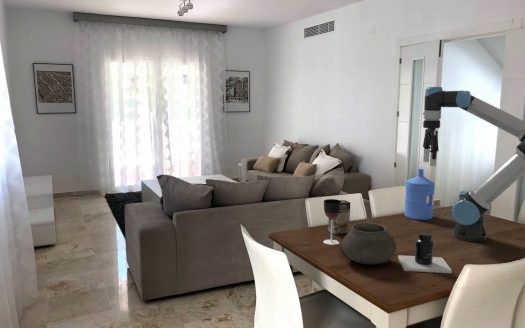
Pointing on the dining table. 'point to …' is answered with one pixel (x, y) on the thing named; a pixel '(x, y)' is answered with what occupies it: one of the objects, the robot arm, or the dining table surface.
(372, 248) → the clay pot
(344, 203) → the coffee box
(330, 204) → the wineglass
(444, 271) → the stone board
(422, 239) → the supplement bottle
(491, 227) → the dining table surface
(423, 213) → the water jug
